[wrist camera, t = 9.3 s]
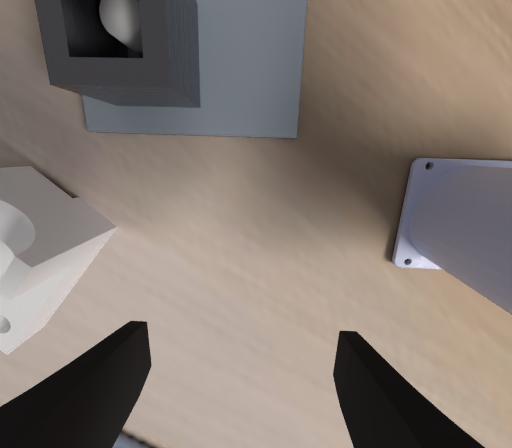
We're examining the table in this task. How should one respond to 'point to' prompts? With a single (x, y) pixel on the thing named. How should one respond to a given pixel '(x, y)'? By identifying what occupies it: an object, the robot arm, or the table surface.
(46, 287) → the bracket
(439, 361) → the table surface
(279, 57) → the plate with peg
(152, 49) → the dark grey hollow block
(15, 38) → the table surface
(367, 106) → the table surface
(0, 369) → the table surface
